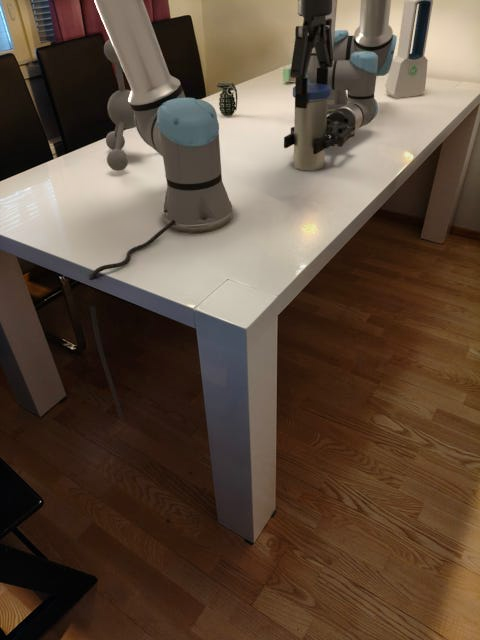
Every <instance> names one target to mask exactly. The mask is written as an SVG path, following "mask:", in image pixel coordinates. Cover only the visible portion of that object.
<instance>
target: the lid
mask: <svg viewBox="0 0 480 640" xmlns="http://www.w3.org/2000/svg"><path fill="white" fill-rule="evenodd" d="M330 95H331V87H330V86H328V85H325V84H314V83H313V84H307V100H318V99H324V98H327V97H329V96H330ZM292 97H293V98H294V99H295V86H293V87H292Z"/></svg>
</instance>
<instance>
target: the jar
mask: <svg viewBox="0 0 480 640" xmlns="http://www.w3.org/2000/svg"><path fill="white" fill-rule="evenodd" d="M327 107H328V97H327V98H324V99H318V100H307V108H305V109H304V108H296V107H295V106H294V120H293V121H294V123H293V125H294V126H293V127H294V144H293V167H294V168H295V169H297V170H301V171H317V170H320V169H322V168H324V166H325V159H326V158H325V155H326V149H324V150H322V151H321V152H319V153H317V154H313V152H314V142H316V141H318V140H320V139H321V138H323V137H325V136H326V124H327V116H328V114H327Z"/></svg>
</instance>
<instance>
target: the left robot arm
mask: <svg viewBox="0 0 480 640" xmlns="http://www.w3.org/2000/svg"><path fill="white" fill-rule="evenodd" d="M93 1H94V3H95V6H96V9H97V12H98V13H99V16H100V19H101V21H102V23H103V25H104V28H105V30H106V33H107V35H108V37H109V39H110V40H111V42H112V44H113V47H114V49H115V52H116V54H117V56H118V59H119V61H120V63H121V68H122V72H123V74H124V75H125V78H126V80H127V82H128V85H129V87H130V91H131V93H130V96H129V99H128V101H129V103H130V106H131V108H132V110H133V113H134V120H135V125H136V127H135V128H136V131H137V133H138V135H139V136H140V138H141V139H142V141H143V142H144V143H146V144H147V146H149V147H151V148H152V149H153V150H154V151H155V152H157V153H158V154H159V155H160V156H161V157H162V159H163V168H164V173H165V180H166V190H165V191H166V192H165V196H164V203H163V207H162V218H163V222H164V224H165V226H164V227H162V228H161V229H159V231H157V232H156V233H155V234H153V236H152V237H151V238H150V239H148V240H147V241H146V242H143V243H142V244H139V245H136V246H134V247H132V248H130V249H129V250H128V251H127V253H126V257H125V258H124V260H122V261H119V262H115V263H109V264H104V265H101V266H99V267H97V268H95V269H94V270H93V272H91V274H90V276H89V279H88V280H89V281H92V280H95V278H96V276H97V275H98V274H100V273H101V272H102V271H106V270H111V269H116V268H121V267H124V266H125V265H127V264H128V263H129V262H130V260H131V256H132V254H133V253H136V252H138V251H140V250H142V249H145V248H146V247H148V246H150V245H151V244H153V243H154V242H155V241H156V240H157V239H158V238H160V237H161V236H162V235H163V234H164V233H165V232H167V231H168V230H169V229H171V230H173V231H177V232H180V233H190V234H191V233H192V234H193V233H194V234H195V233H196V234H197V233H205V232H206V233H207V232H210V231H215V230H216V229H220V228H222V227H224V226H226V225H227V224H228V223H230V221H231V220H232V218H233V216H234V212H233V211H234V210H233V204H232V201H231V200H230V197H229V195H228V192H227V190H226V187H225V184H224V182H223V175H222V174H223V173H222V161H221V159H222V158H221V145H220V124H219V120H218V114H217V111H216V109H215V107H214V105H212V104H211V103H210V102H209V101H207V100H203V99H200V98H198V99H196V98H195V97H186V95H185V91H184V89H183V87H182V84H181V81H180V79H178V78H176V77H174V76H172V75H171V74H170V72H169V69H168V68H169V67H168V65H167V63H166V60H165V57H164V55H163V52H162V49H161V47H160V44H159V41H158V39H157V35H156V32H155V30H154V27H153V24H152V21H151V18H150V16H149V13H148V10H147V7H146V5H145V2H144V0H93ZM332 1H333V0H297V15H298V16H299V17H303V21H302V25H296V26H295V28H294V29H295V31H294V32H295V33H294V34H295V35H294V36H295V38H294V43H293V44H294V46H293V53H292V58H291V62H292V65H291V72H290V76H291V77H292V78H296V82H294V83H295V86H294V87H295V98H294V108H295V107H296V108H304V109H305V108H307V81H308V78H305V77H306V73H307V69H308V65H309V61H310V57H311V54H312V50H313V48H314V47H315V50H316V55H317V59H318V64H319V67H318V68H317V78H316V84H325V85H327V83H328V67H332V66H333V63H332V62H333V49H332V33H331V26H332V19H330V18H325V16H327V15H330V14H331V13H332ZM90 314H91V321H92V327H93V332H94V337H95V342H96V346H97V350H98V354H99V357H100V360H101V361H100V362H101V363H102V367H103V370H104V373H105V377H106V380H107V382H108V385H109V388H110V391H111V393H112V396H113V400H114V403H115V406H116V410H117V414H118V417H119V421H120V422H124V420H125V418H124V413H123V410H122V407H121V404H120V400H119V397H118V393H117V391H116V388H115V384H114V382H113V379H112V375H111V372H110V370H109V366H108V362H107V360H106V356H105V353H104V348H103V345H102V341H101V337H100V331H99V325H98V319H97V311H96V306H93V305H90Z"/></svg>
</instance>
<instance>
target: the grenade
mask: <svg viewBox="0 0 480 640" xmlns="http://www.w3.org/2000/svg"><path fill="white" fill-rule="evenodd" d="M215 87H217V88H219V89H221V93H219V97H218V101H219V102H218V106H219V108H218V109H219V112H220V114H221V115H222V116H224V117H231V116H233V115H234V113H235V112H236V111H237V108H238V89H237V87H236V85H235V84H234V83H233V82H218V83H217V84H216V86H215ZM232 91H233V92H232ZM234 94H235V96H234Z"/></svg>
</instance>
